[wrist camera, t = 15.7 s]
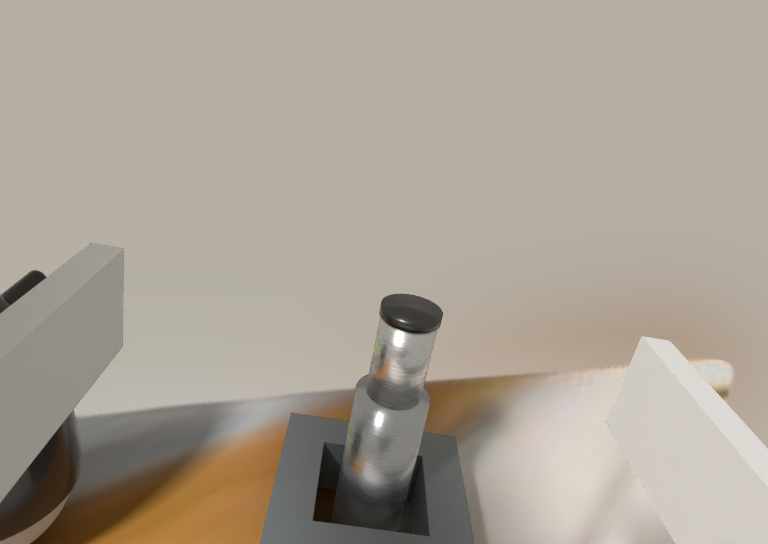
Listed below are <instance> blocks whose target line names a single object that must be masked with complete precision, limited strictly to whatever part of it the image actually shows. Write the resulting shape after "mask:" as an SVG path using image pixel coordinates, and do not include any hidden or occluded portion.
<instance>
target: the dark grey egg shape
mask: <svg viewBox="0 0 768 544" xmlns="http://www.w3.org/2000/svg"><path fill="white" fill-rule="evenodd" d="M45 278H47V277H46V276H45V275H44V274H43V273H42V272H40V271H37V270H33V271H31V272H29V273H28V274H27V275H26V276H24V277H23V278H22V279H20V280H19V281H18V282H17V283H15V284H14V285H13V286H11V287H10V288H9V289H8V290H6V291H5V292H4V293H3V294H0V313H2V312H3V311H4V310H5V309H7V308H8V307H9V306H11V305H12V304H13V303H14V302H16V301H17V300H18V299H20V298H21V297H22V296H23V295H25V294H26V293H27V292H29V291H30V290H31V289H32V288H34V287H35V286H36V285H38V284H39V283H40V282H41V281H43V280H44V279H45ZM81 463H82V454H81V442H80V436H79V431H78V427H77V422H76V418H75V414H74V410H73V411H72V412H71V413H70V414H69V416H68V417H67V418H66V419H65V421H64V422H63V423H62V425H61V426H60V427H59V428H58V430H57V431H56V432H55V433H54V435H53V436H52V437H51V439H50V440H49V441H48V442H47V444H46V445H45V446H44V448H43V449H42V450H41V451H40V453H39V454H38V455H37V456H36V458H35V459H34V460H33V462H32V463H31V464H30V465H29V467H28V468H27V469H26V471H25V472H24V473H23V474H22V476H21V477H20V478H19V479H18V481H17V482H16V483H15V485H14V486H13V487H12V488H11V490H10V491H9V492H8V494H7V495H6V496H5V497H4V499H3V500H2V501H1V502H0V544H30V543H32V542H33V541H34V540H36V539H37V538H38V537H39V536H40V535H41V534H42V533H44V531H45V530H46V529H47V528H48V527H49V526H50V525H51V524H52V523H53V522H54V520H55V519H56V518H57V516H58V515H59V513H60V512H61V510H62V509H63V507H64V505H65V503H66V501H67V499H68V497H69V494H70V492H71V490H72V489H73V487H74V485H75V484H76V481H77V479H78V477H79V474H80V470H81Z"/></svg>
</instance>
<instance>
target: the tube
mask: <svg viewBox="0 0 768 544" xmlns="http://www.w3.org/2000/svg"><path fill="white" fill-rule="evenodd" d="M442 315H443V312H442V310H441V309H440V308H439V306H437V305H436V304H435V303H433V302H431V301H429V300H427V299H425V298H422V297H419V296H415V295H409V294H393V295H389V296H387V297H385V298H383V300H382V302H381V307H380V321H379V327H378V332H377V337H376V342H375V347H374V352H373V357H372V362H371V367H370V372H369V374H368V375H366V376H364V377H362V378H361V379H360V380H359V381H358V383H357V385H356V390H355V395H354V401H353V406H352V411H351V416H350V422H349V427H348V432H347V438H346V443H345V448H344V453H343V459H342V464H341V469H340V475H339V480H338V485H337V490H336V496H335V501H334V506H333V511H332V517H331V522H330V523H333V524H341V525H348V526H356V527H363V528H371V529H378V530H386V531H394V532H398V530H399V526H400V522H401V518H402V514H403V510H404V506H405V502H406V498H407V494H408V490H409V486H410V482H411V478H412V474H413V470H414V466H415V462H416V458H417V454H418V450H419V446H420V442H421V438H422V435H423V431H424V427H425V423H426V419H427V415H428V411H429V407H430V402H431V399H430V395H429V393H428V392H427V390H426V389H425V388H424V383H425V379H426V374H427V370H428V366H429V362H430V358H431V354H432V350H433V346H434V341H435V337H436V333H437V329H438V328H439V327H440V324H441V320H442Z"/></svg>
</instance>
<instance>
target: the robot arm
mask: <svg viewBox="0 0 768 544" xmlns="http://www.w3.org/2000/svg"><path fill="white" fill-rule="evenodd" d="M123 291H124V248H119V247H112V246H106V245H101V244H95V243H90V244H89V245H88V246H87V247H85V248H84V249H83V250H81V251H80V252H79V253H78V254H76V255H75V256H74V257H72V258H71V259H70V260H69V261H67V262H66V263H65V264H63V265H62V266H61V267H60V268H58V269H57V270H56V271H54V272H53V273H52V274H51V275H49V276H48V277H47V278H45V279H44V280H43V281H41V282H40V283H39V284H38V285H36V286H35V287H34V288H32V289H31V290H30V291H29V292H27V293H26V294H25V295H23V296H22V297H21V298H20V299H18V300H17V301H16V302H14V303H13V304H12V305H11V306H9V307H8V308H7V309H5V310H4V311H3V312H2V313H0V502H1V501H2V500H3V499H4V497H5V496H6V495H7V494H8V492H9V491H10V490H11V488H12V487H13V486H14V485H15V483H16V482H17V481H18V479H19V478H20V477H21V476H22V474H23V473H24V472H25V471H26V469H27V468H28V467H29V465H30V464H31V463H32V462H33V460H34V459H35V458H36V456H37V455H38V454H39V453H40V451H41V450H42V449H43V448H44V446H45V445H46V444H47V442H48V441H49V440H50V439H51V437H52V436H53V435H54V433H55V432H56V431H57V430H58V428H59V427H60V426H61V425H62V423H63V422H64V421H65V419H66V418H67V417H68V416H69V414H70V413H71V412H72V411H73V409H74V408H75V407H76V405H77V404H78V403H79V402H80V400H81V399H82V398H83V396H84V395H85V394H86V393H87V391H88V390H89V389H90V387H91V386H92V385H93V384H94V382H95V381H96V379H97V378H98V377H99V376H100V375H101V373H102V372H103V371H104V370H105V368H106V367H107V366H108V365H109V363H110V362H111V360H112V359H113V358H114V357H115V356H116V354H117V353H118V352H119V350H120V349H121V348H122V347H123ZM606 423H607V425H608V427H609V428H610V430H611V432H612V434H613V435H614V437H615V439H616V441H617V442H618V444H619V446H620V448H621V450H622V451H623V453H624V455H625V457H626V458H627V460H628V462H629V464H630V465H631V467H632V469H633V471H634V472H635V474H636V476H637V478H638V479H639V481H640V483H641V485H642V487H643V488H644V490H645V492H646V494H647V495H648V497H649V499H650V501H651V502H652V504H653V506H654V508H655V509H656V511H657V513H658V515H659V516H660V518H661V520H662V522H663V524H664V525H665V527H666V529H667V531H668V532H669V534H670V536H671V538H672V539H673V541H674V543H675V544H768V449H767V448H766V446H765V445H764V444H763V443H762V442H761V441H760V440H759V439H758V438H757V436H755V434H754V433H753V432H752V431H751V430H750V429H749V428H748V427H747V426H746V424H745V423H744V422H743V421H742V420H741V419H740V418H739V417H738V416H737V415H736V413H735V412H734V411H733V410H732V409H731V408H730V407H729V406H728V405H727V403H726V402H725V401H724V400H723V399H722V398H721V397H720V396H719V395H718V394H717V392H716V391H715V390H714V389H713V388H712V387H711V386H710V385H709V384H708V383H707V381H706V380H705V379H704V378H703V377H702V376H701V375H700V374H699V373H698V372H697V371H696V369H695V368H694V367H693V366H692V365H691V364H690V363H689V362H688V361H687V360H686V358H685V357H684V356H683V355H682V354H681V353H680V352H679V351H678V350H677V349H676V347H675V346H674V345H673V344H672V343H671V342H670V341H666V340H661V339H655V338H649V337H643V336H642V337H641V340H640V342H639V344H638V347H637V349H636V351H635V354H634V356H633V358H632V361H631V363H630V365H629V368H628V370H627V372H626V375H625V377H624V380H623V382H622V384H621V387H620V389H619V391H618V394H617V396H616V398H615V401H614V403H613V405H612V408H611V410H610V412H609V415H608V417H607V419H606Z"/></svg>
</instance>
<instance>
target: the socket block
mask: <svg viewBox="0 0 768 544" xmlns="http://www.w3.org/2000/svg"><path fill="white" fill-rule="evenodd" d="M349 422H350V421H343V420H336V419H329V418H322V417H315V416H308V415H302V414H295V413H291V416H290V421H289V425H288V429H287V433H286V437H285V441H284V445H283V450H282V454H281V458H280V462H279V466H278V470H277V475H276V479H275V483H274V487H273V491H272V495H271V499H270V504H269V508H268V512H267V516H266V520H265V524H264V528H263V533H262V537H261V541H260V544H474V541H473V535H472V530H471V524H470V518H469V513H468V507H467V501H466V496H465V490H464V485H463V479H462V473H461V468H460V462H459V456H458V451H457V445H456V439H455V437H453V436H446V435H439V434H433V433H426V432H423V435H422V438H421V442H420V446H419V450H418V454H417V458H416V462H415V466H414V470H413V474H412V478H411V482H410V486H409V490H408V494H407V498H406V500H411V507H412V524H413V534H409V533H401V532H394V531H386V530H378V529H371V528H363V527H356V526H348V525H341V524H333V523H326V522H318V521H313V514H314V507H315V500H316V493H317V488H325V489H332V490H337V485H338V480H339V475H340V469H341V464H342V459H343V453H344V448H345V443H346V438H347V432H348V427H349Z"/></svg>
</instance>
